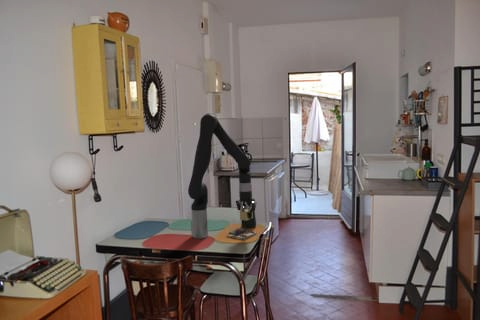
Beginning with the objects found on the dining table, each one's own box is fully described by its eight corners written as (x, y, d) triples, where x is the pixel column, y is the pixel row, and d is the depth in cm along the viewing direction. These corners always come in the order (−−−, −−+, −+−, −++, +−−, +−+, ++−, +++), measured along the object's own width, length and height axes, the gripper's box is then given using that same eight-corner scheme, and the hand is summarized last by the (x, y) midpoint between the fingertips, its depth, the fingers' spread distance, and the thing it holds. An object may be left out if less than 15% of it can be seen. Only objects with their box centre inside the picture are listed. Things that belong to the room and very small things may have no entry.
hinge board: (226, 236, 241) (226, 230, 241) (239, 230, 252) (239, 225, 251) (244, 240, 234) (244, 234, 233) (256, 234, 244) (256, 228, 244)
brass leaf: (240, 219, 237) (239, 211, 237) (246, 216, 243) (246, 208, 243) (246, 220, 235) (245, 212, 234) (252, 217, 240) (252, 209, 240)
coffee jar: (257, 224, 264) (256, 197, 262) (254, 228, 256) (253, 200, 254) (243, 224, 267) (242, 196, 264) (240, 227, 259) (238, 199, 257)
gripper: (232, 190, 238) (233, 218, 240) (251, 192, 230) (253, 220, 232) (239, 187, 244) (240, 215, 246) (259, 189, 236) (260, 217, 238)
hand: (246, 217), depth 239 cm, fingers closed on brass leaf, 4 cm apart
